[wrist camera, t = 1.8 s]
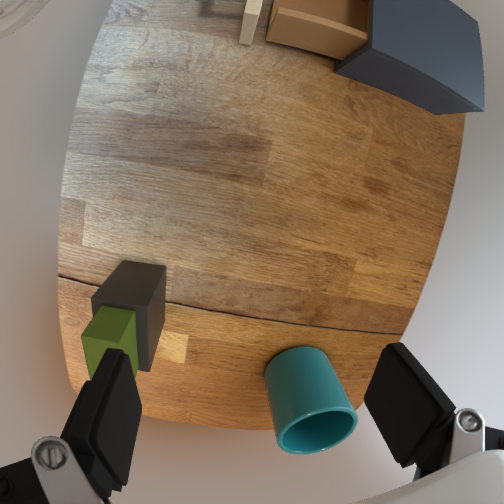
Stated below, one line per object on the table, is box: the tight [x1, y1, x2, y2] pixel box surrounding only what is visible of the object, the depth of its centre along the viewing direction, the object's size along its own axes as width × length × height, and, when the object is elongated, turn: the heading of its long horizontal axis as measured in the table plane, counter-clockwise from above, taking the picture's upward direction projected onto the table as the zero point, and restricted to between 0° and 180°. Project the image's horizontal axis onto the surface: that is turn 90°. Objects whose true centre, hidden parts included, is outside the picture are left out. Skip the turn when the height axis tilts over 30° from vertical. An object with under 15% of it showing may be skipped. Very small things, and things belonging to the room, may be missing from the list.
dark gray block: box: [91, 261, 166, 372], centre depth 26 cm, size 7×5×9 cm
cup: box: [264, 346, 358, 454], centre depth 31 cm, size 9×12×11 cm
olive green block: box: [81, 306, 139, 380], centre depth 19 cm, size 6×3×4 cm, turn 171°
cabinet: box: [334, 0, 484, 115], centre depth 20 cm, size 15×13×9 cm
